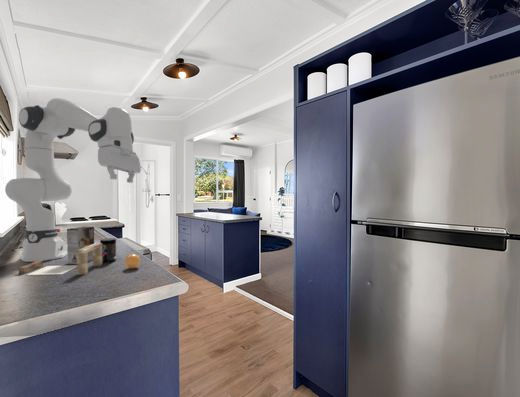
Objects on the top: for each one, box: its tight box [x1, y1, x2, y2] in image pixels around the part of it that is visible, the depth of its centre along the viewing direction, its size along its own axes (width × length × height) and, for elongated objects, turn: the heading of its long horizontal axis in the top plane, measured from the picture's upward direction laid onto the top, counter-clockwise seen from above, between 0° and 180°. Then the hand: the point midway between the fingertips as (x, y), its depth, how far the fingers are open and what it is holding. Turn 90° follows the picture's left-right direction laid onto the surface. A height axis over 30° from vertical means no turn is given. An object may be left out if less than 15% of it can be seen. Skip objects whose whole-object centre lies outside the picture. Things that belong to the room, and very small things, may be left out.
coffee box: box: [66, 226, 95, 265], centre depth 128 cm, size 9×6×16 cm
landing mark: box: [26, 264, 77, 276], centre depth 114 cm, size 13×13×1 cm
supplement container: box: [99, 237, 117, 264], centre depth 130 cm, size 7×7×10 cm
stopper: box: [18, 261, 44, 275], centre depth 114 cm, size 11×2×2 cm, turn 7°
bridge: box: [76, 242, 103, 276], centre depth 116 cm, size 3×15×10 cm, turn 7°
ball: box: [124, 253, 141, 269], centre depth 118 cm, size 6×6×6 cm
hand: (122, 181), depth 109 cm, fingers open, 8 cm apart
